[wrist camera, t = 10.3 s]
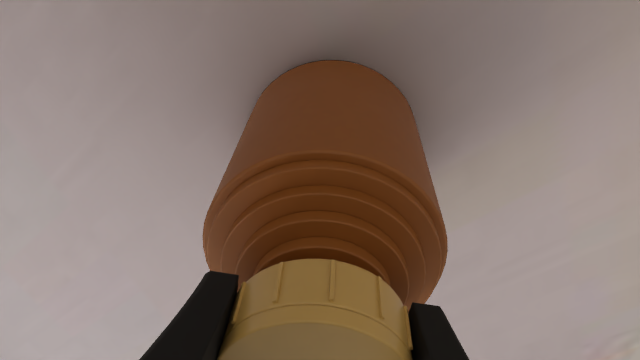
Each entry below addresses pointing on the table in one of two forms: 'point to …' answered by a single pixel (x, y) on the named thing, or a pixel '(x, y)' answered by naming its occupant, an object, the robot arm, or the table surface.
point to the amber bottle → (330, 183)
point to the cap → (317, 315)
